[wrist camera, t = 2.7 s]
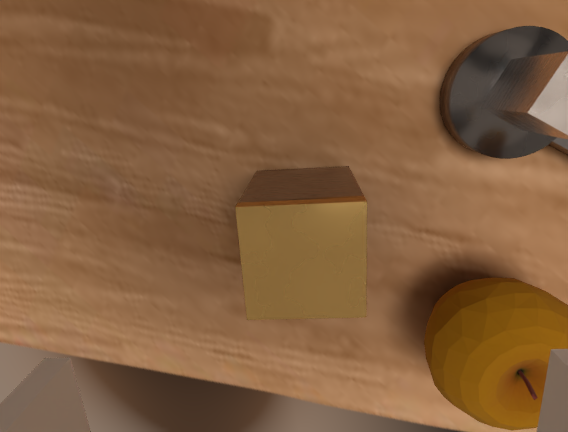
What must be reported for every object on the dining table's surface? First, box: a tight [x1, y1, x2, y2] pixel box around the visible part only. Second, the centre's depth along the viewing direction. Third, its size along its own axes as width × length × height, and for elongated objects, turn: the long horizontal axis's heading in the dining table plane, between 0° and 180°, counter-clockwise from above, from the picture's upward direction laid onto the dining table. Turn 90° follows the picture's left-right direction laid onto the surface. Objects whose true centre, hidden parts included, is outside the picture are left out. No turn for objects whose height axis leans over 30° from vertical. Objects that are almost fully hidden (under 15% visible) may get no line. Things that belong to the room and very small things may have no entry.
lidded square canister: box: [235, 166, 367, 320], centre depth 23 cm, size 6×6×8 cm
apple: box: [424, 278, 568, 430], centre depth 24 cm, size 9×9×9 cm
